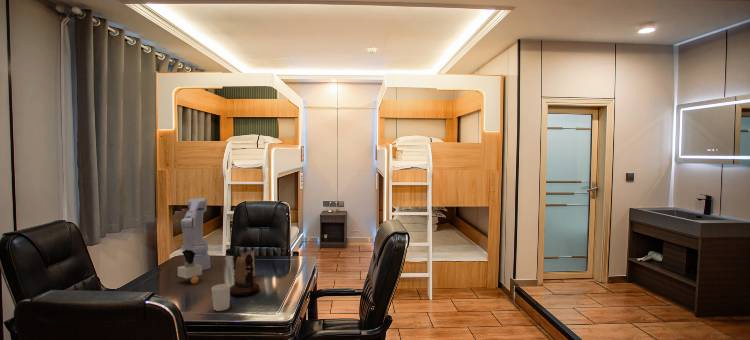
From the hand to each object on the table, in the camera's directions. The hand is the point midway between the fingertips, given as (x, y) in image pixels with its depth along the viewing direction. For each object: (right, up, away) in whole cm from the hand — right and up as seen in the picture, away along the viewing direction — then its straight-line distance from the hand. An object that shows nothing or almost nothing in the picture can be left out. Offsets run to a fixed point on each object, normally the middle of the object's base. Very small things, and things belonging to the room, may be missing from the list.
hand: (189, 263), depth 208 cm
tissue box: (0, -7, 0) cm, 7 cm away
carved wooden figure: (+33, -10, +4) cm, 34 cm away
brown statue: (+36, -11, -16) cm, 41 cm away
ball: (+4, -9, -2) cm, 10 cm away
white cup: (+32, -12, -35) cm, 49 cm away
